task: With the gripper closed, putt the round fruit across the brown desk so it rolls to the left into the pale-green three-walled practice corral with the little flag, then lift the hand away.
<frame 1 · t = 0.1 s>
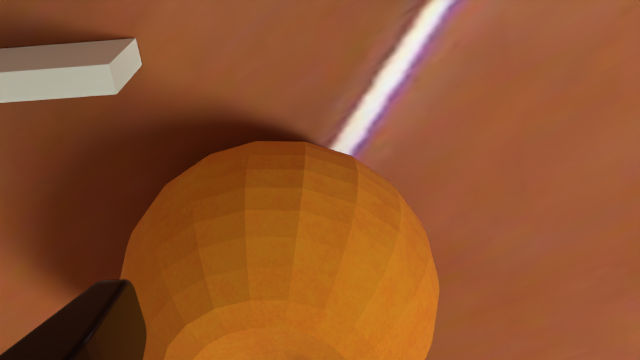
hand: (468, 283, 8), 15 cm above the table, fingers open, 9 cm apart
fruit: (286, 231, 25), on the table
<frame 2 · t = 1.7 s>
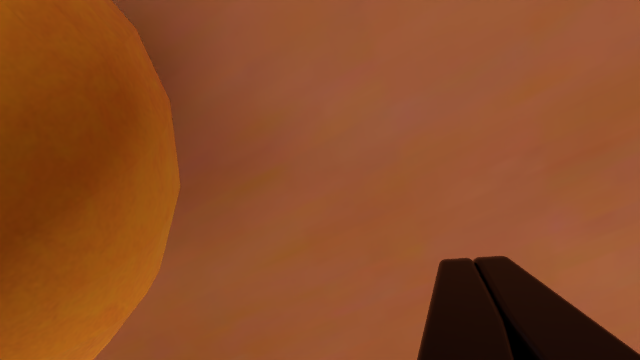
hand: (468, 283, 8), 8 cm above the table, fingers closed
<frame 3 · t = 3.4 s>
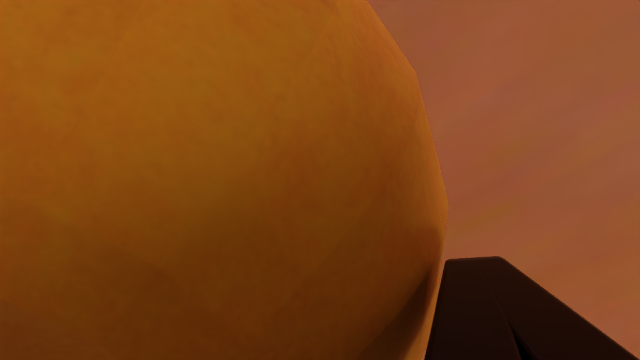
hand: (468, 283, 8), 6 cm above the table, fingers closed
fruit: (154, 129, 13), on the table, touching gripper
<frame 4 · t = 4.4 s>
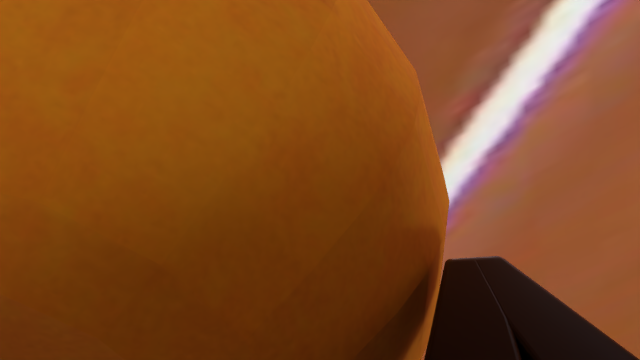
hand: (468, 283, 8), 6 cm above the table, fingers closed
fruit: (157, 130, 13), on the table, touching gripper
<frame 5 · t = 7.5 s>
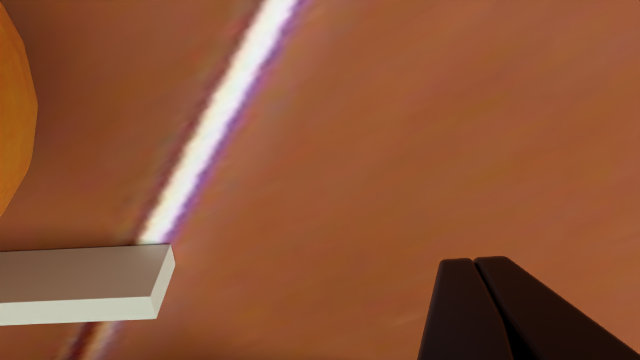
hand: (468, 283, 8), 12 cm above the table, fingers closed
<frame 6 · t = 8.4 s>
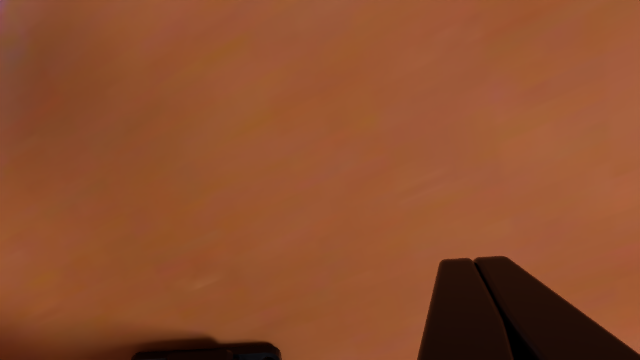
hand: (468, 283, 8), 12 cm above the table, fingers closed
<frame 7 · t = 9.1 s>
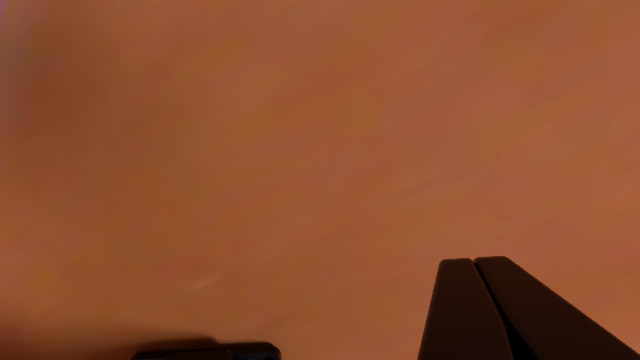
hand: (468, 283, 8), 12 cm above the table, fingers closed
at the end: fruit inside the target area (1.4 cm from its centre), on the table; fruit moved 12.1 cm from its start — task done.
